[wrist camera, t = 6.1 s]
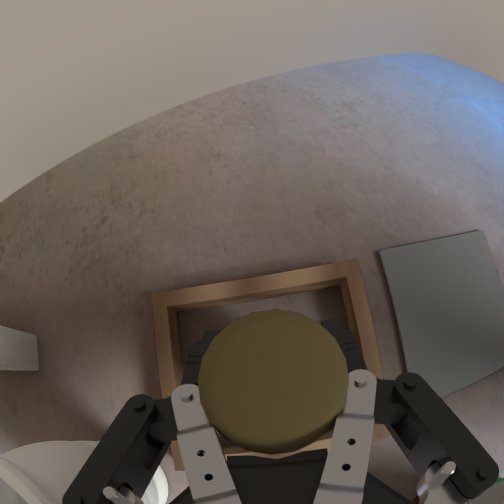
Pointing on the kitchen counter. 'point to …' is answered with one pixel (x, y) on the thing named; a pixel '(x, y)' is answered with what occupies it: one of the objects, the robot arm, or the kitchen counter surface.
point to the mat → (447, 309)
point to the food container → (487, 494)
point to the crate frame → (258, 289)
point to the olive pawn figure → (273, 382)
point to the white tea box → (18, 350)
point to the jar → (55, 473)
